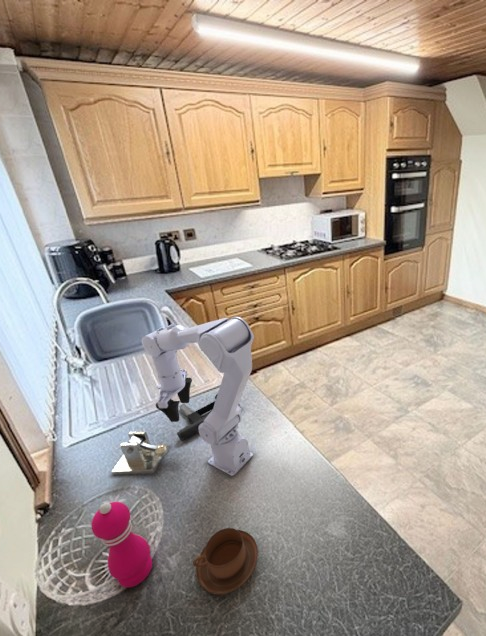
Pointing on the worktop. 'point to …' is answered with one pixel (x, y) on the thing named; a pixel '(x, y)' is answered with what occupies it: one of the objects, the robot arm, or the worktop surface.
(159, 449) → the lever
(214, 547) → the cup and saucer
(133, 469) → the bracket
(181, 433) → the door handle
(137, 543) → the pepper mill
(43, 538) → the worktop surface
